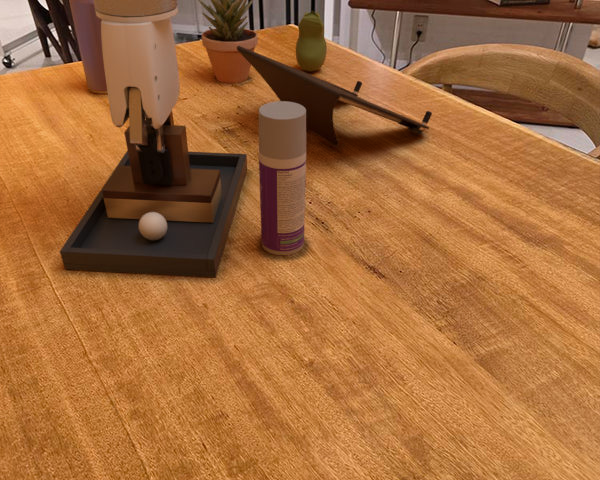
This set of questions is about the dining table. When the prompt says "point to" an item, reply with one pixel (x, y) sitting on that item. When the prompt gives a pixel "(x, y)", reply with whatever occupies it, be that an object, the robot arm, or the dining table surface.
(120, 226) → the tray
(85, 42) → the beverage can
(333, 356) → the dining table surface
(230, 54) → the potted plant
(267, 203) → the container
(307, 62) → the pear
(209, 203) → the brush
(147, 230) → the white ball
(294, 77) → the laptop stand
